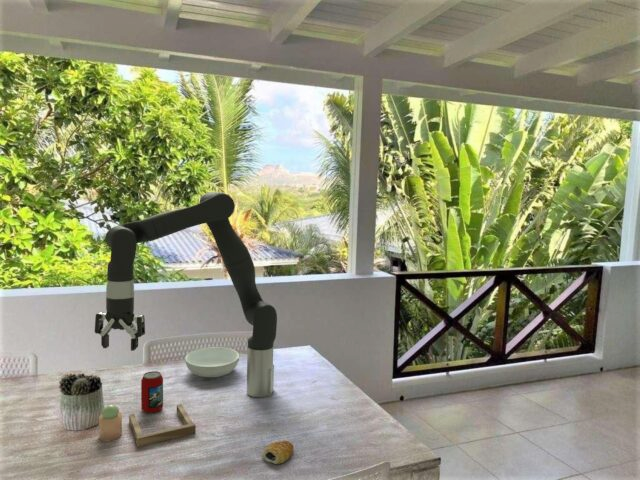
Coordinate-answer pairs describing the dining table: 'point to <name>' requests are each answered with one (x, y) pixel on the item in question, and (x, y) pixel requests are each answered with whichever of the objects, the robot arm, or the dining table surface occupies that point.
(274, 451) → the pastry
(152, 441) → the corral
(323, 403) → the dining table surface
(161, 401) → the beverage can
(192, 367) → the serving bowl
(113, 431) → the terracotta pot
